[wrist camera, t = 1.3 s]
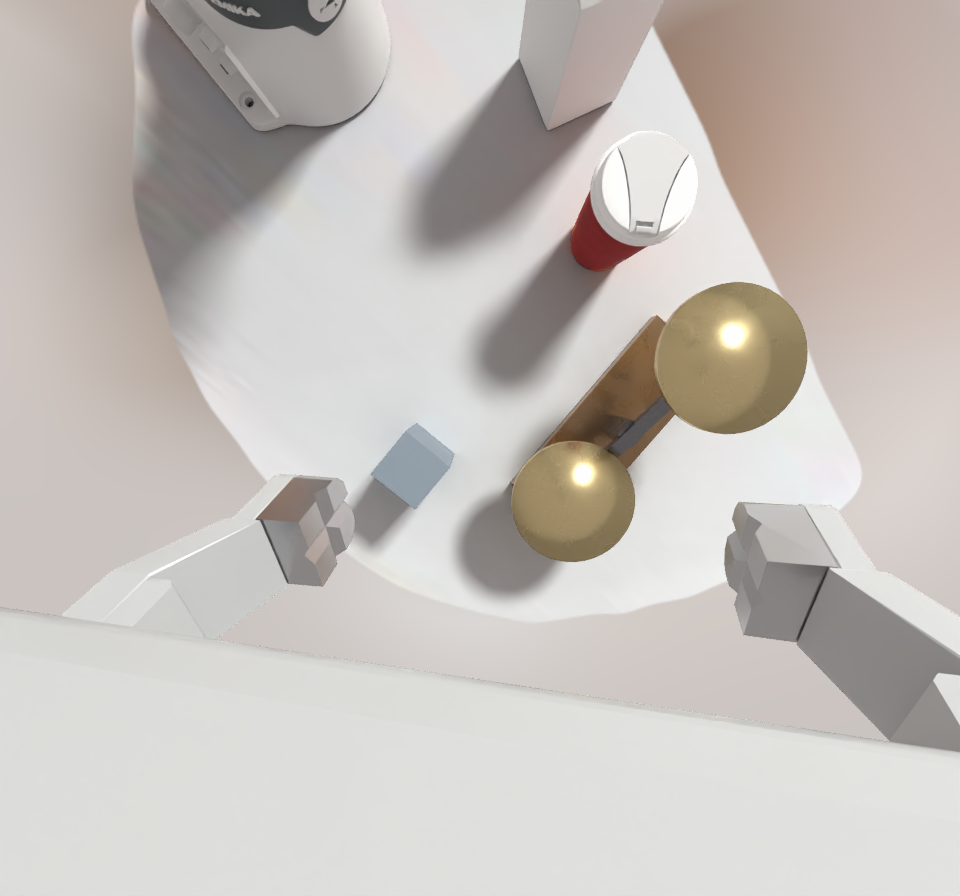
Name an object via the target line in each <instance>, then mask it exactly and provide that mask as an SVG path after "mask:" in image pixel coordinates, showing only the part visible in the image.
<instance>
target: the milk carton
mask: <svg viewBox="0 0 960 896" xmlns="http://www.w3.org/2000/svg"><path fill="white" fill-rule="evenodd" d="M663 2H664V0H526V4H525V12H524V19H523V27H522V34H521V42H520V49H519V59H520V61H521V64H522V67H523V69H524V72H525V74H526V77H527V80H528V82H529V85H530V87H531V90H532V93H533V95H534V98H535V100H536V103H537V106H538V108H539V111H540V114H541V116H542V119H543V121H544V124H545V127H546V129H547V130H551V129H553V128H556V127H558V126H560V125H562V124H564V123H566V122H569V121H571V120H573V119H575V118H577V117H579V116H581V115H584V114H586V113H588V112H590V111H592V110H594V109H597V108H599V107H601V106H603V105H605V104H607V103H609V102H611V101H613V100H615V99H616V97H617V95H618V93H619V91H620V89H621V87H622V85H623V83H624V81H625V79H626V77H627V75H628V73H629V71H630V69H631V67H632V65H633V62H634V60H635V58H636V56H637V54H638V52H639V50H640V48H641V46H642V44H643V42H644V40H645V38H646V36H647V34H648V32H649V30H650V28H651V26H652V24H653V22H654V20H655V18H656V16H657V14H658V12H659V10H660V8H661V6H662V4H663Z"/></svg>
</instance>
